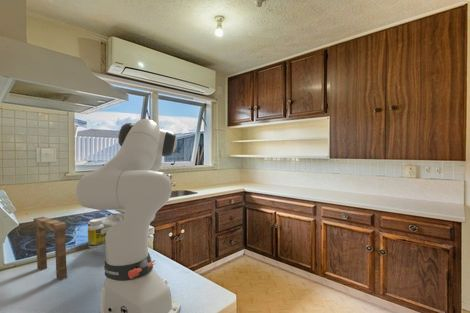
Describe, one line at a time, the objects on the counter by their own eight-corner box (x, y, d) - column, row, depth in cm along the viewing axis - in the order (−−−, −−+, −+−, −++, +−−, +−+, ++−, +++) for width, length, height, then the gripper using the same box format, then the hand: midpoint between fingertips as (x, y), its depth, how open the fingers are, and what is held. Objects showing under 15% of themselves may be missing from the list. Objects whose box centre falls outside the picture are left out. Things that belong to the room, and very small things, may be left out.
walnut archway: (68, 277, 90) (66, 222, 89) (59, 280, 87) (56, 225, 87) (44, 265, 99) (42, 216, 99) (35, 269, 97) (33, 218, 96)
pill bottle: (98, 248, 104) (96, 222, 104) (84, 248, 105) (83, 222, 105) (108, 243, 110) (107, 218, 110) (95, 242, 111) (94, 217, 111)
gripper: (138, 232, 114) (109, 242, 102) (111, 225, 124) (82, 234, 113) (138, 218, 114) (109, 226, 102) (110, 213, 124) (81, 220, 112)
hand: (94, 230), depth 107 cm, fingers closed on pill bottle, 6 cm apart
